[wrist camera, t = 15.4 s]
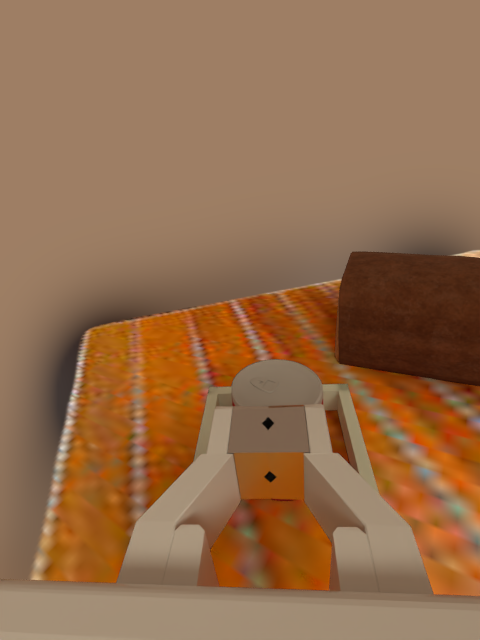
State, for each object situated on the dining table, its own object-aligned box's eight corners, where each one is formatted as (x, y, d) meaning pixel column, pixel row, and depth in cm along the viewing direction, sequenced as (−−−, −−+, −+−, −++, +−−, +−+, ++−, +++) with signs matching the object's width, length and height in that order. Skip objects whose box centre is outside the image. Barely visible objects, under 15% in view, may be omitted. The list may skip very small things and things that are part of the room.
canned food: (250, 434, 40) (241, 355, 34) (322, 443, 38) (325, 361, 32) (233, 496, 34) (219, 412, 28) (318, 511, 32) (322, 424, 26)
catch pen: (345, 402, 43) (347, 383, 41) (379, 531, 30) (383, 510, 28) (212, 405, 44) (209, 387, 43) (189, 527, 31) (183, 507, 30)
